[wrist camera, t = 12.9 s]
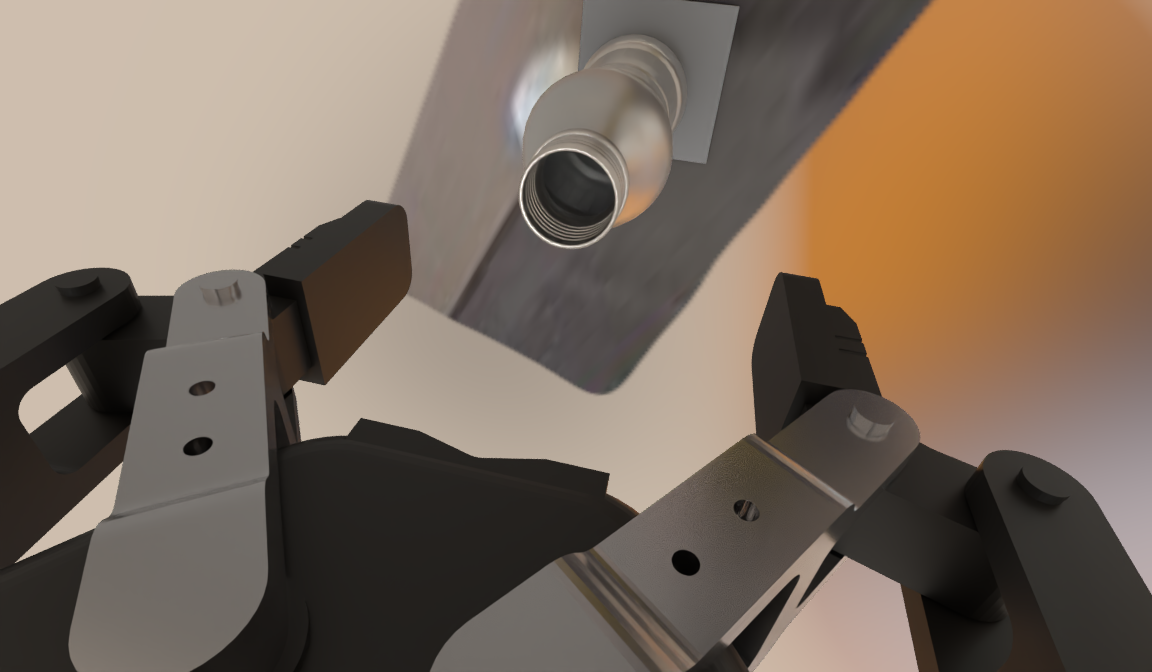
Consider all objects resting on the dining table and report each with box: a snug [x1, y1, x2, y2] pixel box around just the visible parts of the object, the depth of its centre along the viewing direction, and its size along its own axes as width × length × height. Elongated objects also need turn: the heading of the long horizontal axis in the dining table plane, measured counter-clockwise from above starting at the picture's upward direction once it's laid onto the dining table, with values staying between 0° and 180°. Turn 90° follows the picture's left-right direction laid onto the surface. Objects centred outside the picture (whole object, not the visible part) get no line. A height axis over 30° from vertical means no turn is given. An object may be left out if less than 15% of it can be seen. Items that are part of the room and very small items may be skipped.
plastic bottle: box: [519, 34, 687, 249], centre depth 28 cm, size 6×7×20 cm
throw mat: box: [578, 0, 739, 164], centre depth 35 cm, size 12×9×1 cm
